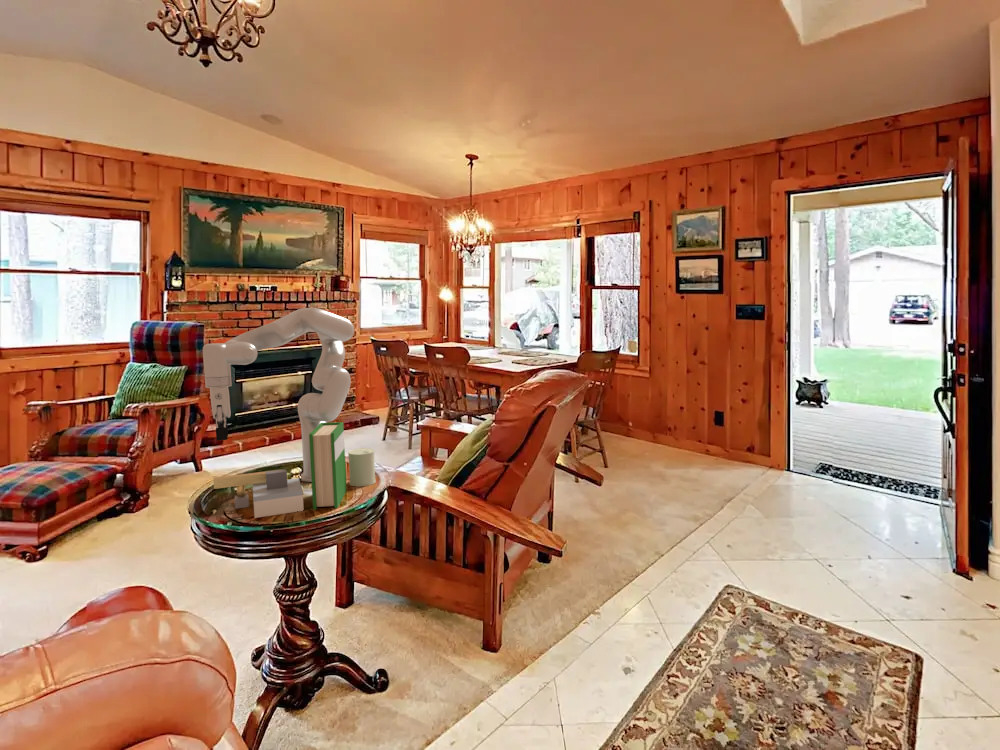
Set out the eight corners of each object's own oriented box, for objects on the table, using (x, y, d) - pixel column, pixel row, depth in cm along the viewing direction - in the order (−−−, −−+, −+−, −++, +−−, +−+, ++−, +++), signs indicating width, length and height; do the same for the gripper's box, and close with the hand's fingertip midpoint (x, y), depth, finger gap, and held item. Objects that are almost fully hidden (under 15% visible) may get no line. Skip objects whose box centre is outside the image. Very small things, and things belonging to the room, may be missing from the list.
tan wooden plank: (283, 489, 186) (281, 469, 185) (283, 491, 183) (282, 471, 183) (215, 498, 177) (213, 477, 177) (214, 500, 175) (213, 479, 174)
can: (362, 488, 196) (361, 454, 195) (343, 484, 201) (342, 451, 200) (381, 481, 204) (379, 448, 203) (362, 477, 209) (361, 445, 208)
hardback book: (337, 508, 176) (333, 433, 174) (313, 509, 176) (309, 434, 173) (346, 490, 194) (343, 422, 191) (324, 491, 193) (320, 422, 190)
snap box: (299, 495, 189) (298, 481, 188) (303, 510, 175) (302, 495, 174) (235, 504, 181) (234, 489, 180) (234, 521, 167) (233, 504, 166)
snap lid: (299, 482, 187) (297, 463, 186) (302, 495, 174) (301, 474, 173) (253, 488, 181) (251, 469, 180) (253, 501, 168) (252, 480, 168)
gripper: (230, 384, 173) (234, 442, 175) (232, 378, 188) (235, 432, 191) (203, 386, 170) (207, 445, 172) (206, 380, 185) (210, 434, 188)
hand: (222, 437), depth 181 cm, fingers open, 4 cm apart
